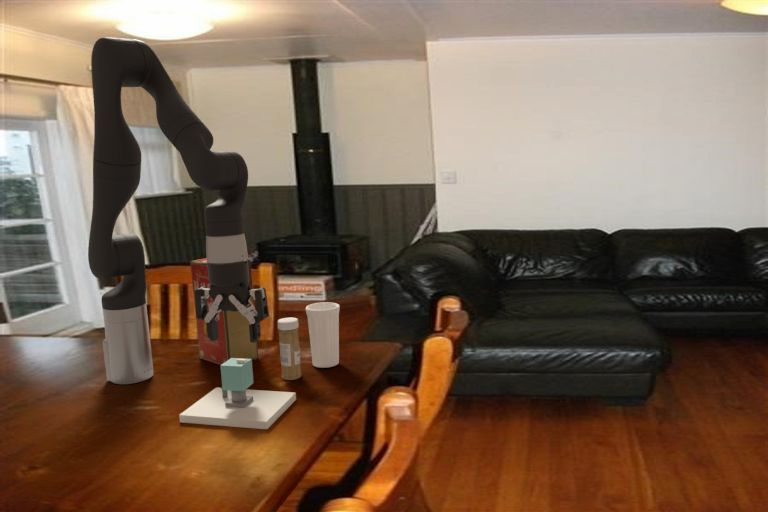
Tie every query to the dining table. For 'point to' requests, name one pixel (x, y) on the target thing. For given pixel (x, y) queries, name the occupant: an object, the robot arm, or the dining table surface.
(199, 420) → the stud board
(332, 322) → the cup
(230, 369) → the mint cube with tab
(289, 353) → the sprinkles bottle
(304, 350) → the dining table surface
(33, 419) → the dining table surface
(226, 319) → the food packaging
